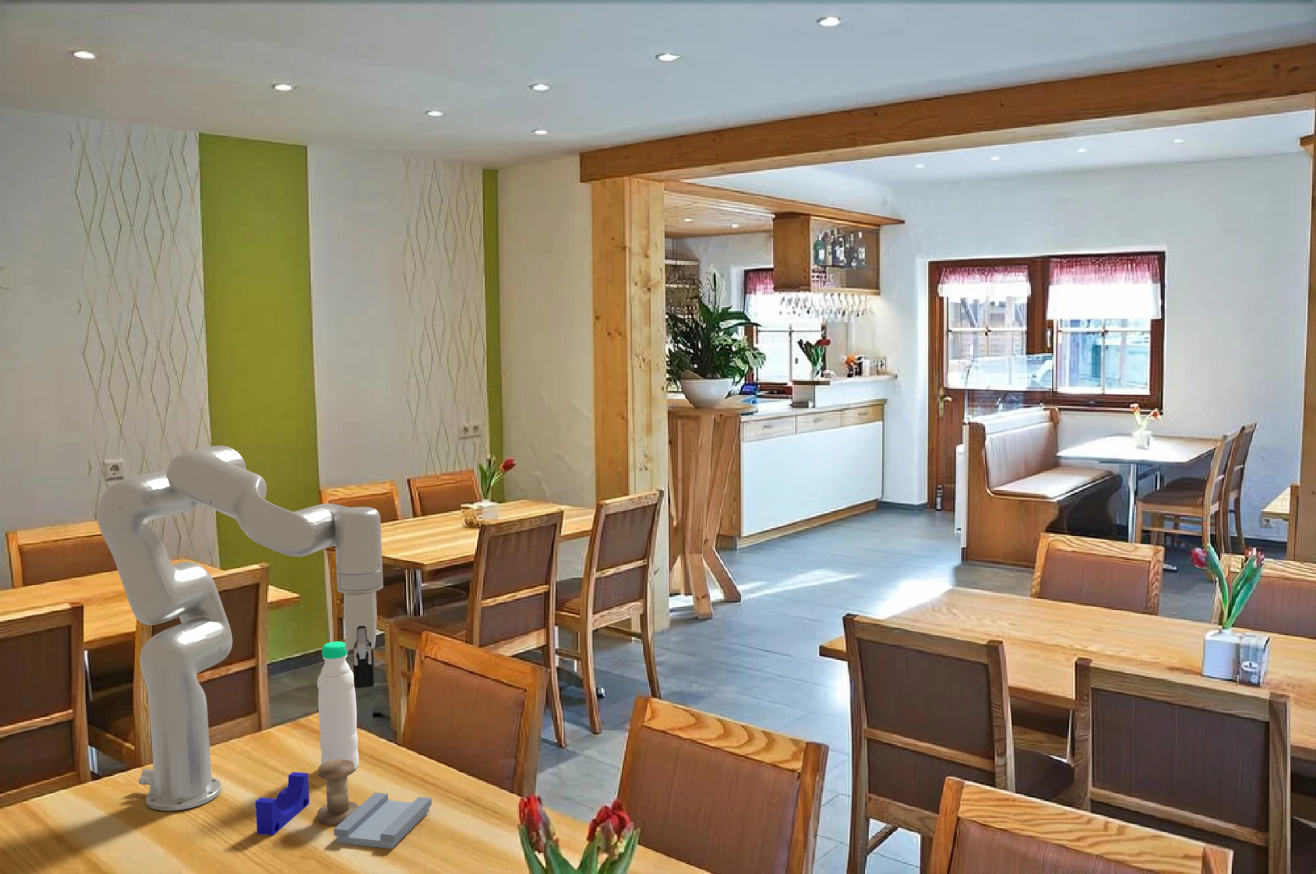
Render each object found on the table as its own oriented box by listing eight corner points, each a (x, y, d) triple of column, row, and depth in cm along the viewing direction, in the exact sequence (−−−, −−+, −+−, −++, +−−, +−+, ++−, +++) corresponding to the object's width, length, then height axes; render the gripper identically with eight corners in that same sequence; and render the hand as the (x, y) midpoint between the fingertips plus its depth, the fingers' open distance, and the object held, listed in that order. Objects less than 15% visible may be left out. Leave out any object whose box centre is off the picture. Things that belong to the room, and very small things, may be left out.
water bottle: (353, 776, 203) (347, 649, 200) (316, 776, 203) (310, 649, 201) (363, 761, 210) (358, 638, 207) (328, 761, 210) (322, 638, 208)
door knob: (309, 822, 184) (307, 773, 183) (331, 805, 191) (328, 756, 190) (346, 826, 183) (343, 776, 182) (366, 808, 190) (364, 760, 189)
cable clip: (286, 803, 193) (285, 771, 192) (309, 805, 192) (307, 773, 191) (249, 834, 181) (247, 800, 180) (273, 836, 180) (271, 802, 179)
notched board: (334, 842, 177) (333, 829, 177) (375, 805, 191) (374, 792, 191) (394, 849, 175) (394, 835, 174) (432, 811, 188) (431, 798, 188)
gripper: (338, 570, 188) (342, 664, 190) (335, 594, 171) (340, 697, 173) (382, 567, 190) (386, 660, 192) (383, 590, 173) (387, 692, 175)
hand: (364, 677), depth 183 cm, fingers open, 9 cm apart
